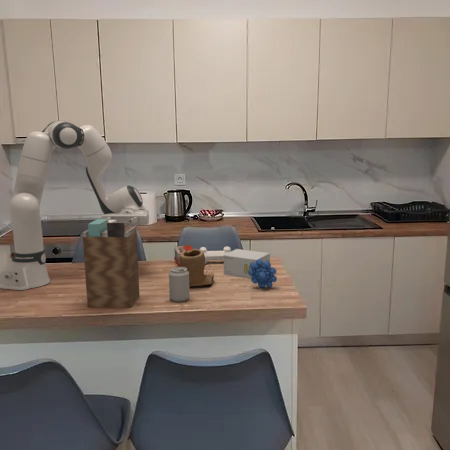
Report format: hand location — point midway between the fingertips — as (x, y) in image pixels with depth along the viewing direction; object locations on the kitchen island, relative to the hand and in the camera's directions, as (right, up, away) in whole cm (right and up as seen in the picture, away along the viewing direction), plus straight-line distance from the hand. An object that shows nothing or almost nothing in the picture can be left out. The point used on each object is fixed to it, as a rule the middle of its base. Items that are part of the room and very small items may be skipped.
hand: (119, 220), depth 194 cm
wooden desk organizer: (+2, -30, -19) cm, 36 cm away
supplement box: (+53, -24, +16) cm, 60 cm away
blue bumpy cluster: (+58, -27, -6) cm, 65 cm away
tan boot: (+32, -27, 0) cm, 42 cm away
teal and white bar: (-2, -4, -19) cm, 19 cm away
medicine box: (+24, -21, +31) cm, 45 cm away
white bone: (+39, -20, +33) cm, 55 cm away
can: (+26, -30, -17) cm, 43 cm away
